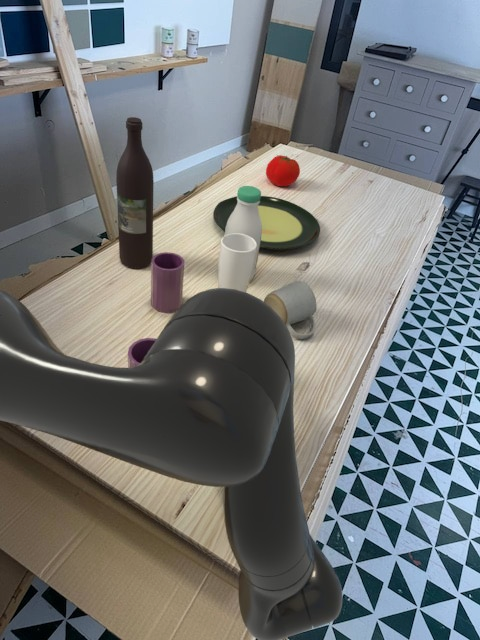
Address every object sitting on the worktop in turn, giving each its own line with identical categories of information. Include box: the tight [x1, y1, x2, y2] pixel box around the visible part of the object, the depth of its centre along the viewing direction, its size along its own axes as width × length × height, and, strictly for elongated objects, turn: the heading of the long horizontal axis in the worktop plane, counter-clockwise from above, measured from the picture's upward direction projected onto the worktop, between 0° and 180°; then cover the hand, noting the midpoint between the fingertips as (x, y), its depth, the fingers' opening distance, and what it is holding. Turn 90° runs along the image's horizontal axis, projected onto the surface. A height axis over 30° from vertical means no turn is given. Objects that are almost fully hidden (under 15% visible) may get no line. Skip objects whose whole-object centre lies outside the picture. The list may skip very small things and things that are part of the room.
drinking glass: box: [217, 233, 257, 293], centre depth 90 cm, size 7×7×15 cm
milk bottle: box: [223, 185, 262, 282], centre depth 97 cm, size 8×8×20 cm
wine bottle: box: [115, 116, 155, 270], centre depth 93 cm, size 7×7×30 cm
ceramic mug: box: [263, 280, 317, 340], centre depth 90 cm, size 11×8×8 cm
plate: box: [212, 195, 321, 251], centre depth 121 cm, size 28×28×2 cm
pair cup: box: [127, 337, 157, 368], centre depth 71 cm, size 6×6×10 cm
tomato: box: [265, 154, 301, 187], centre depth 141 cm, size 9×10×8 cm
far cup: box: [150, 251, 186, 314], centre depth 89 cm, size 6×6×10 cm
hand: (222, 365), depth 72 cm, fingers open, 8 cm apart
